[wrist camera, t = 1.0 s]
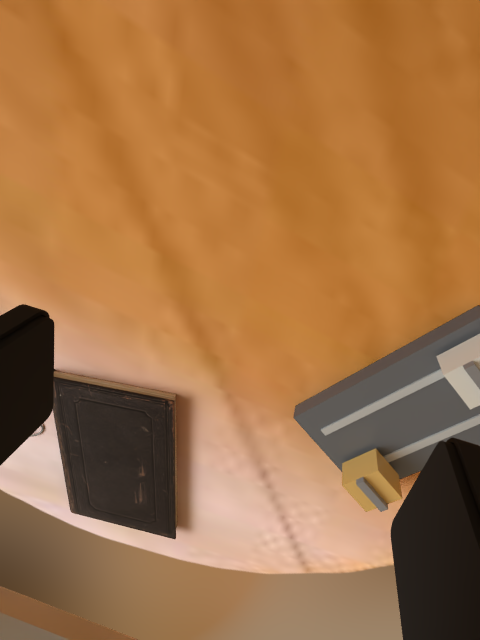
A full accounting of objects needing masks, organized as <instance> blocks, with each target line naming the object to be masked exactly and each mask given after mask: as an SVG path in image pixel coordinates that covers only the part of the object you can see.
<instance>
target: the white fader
mask: <svg viewBox="0 0 480 640" xmlns="http://www.w3.org/2000/svg"><path fill="white" fill-rule="evenodd" d="M436 357H437V360H438V362H439V365H440V367H441V370H442V373H443V375H444V376H445V378H446V379H447V380H448V382H449V383H450V384H451V385H452V387H453V388H454V389H455V391H456V392H457V393H458V394H459V396H460V397H461V398H462V400H463V401H464V402H465V403H466V405H467V406H468V407H469V409H470V410H471V409H473V408H475V407H477V406H480V334H478V335H476V336H474V337H472V338H470V339H468V340H467V341H465V342H463V343H461V344H459V345H457V346H455V347H453V348H451V349H449V350H447V351H445V352H443V353H442V354H440V355H438V356H436Z"/></svg>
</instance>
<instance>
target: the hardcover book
mask: <svg viewBox="0 0 480 640" xmlns="http://www.w3.org/2000/svg"><path fill="white" fill-rule="evenodd" d="M53 412H54V418H55V424H56V430H57V435H58V441H59V447H60V453H61V459H62V464H63V470H64V476H65V482H66V487H67V493H68V499H69V505H70V510H71V512H72V513H75V514H79V515H83V516H87V517H91V518H95V519H99V520H102V521H106V522H110V523H114V524H118V525H122V526H126V527H130V528H133V529H137V530H141V531H145V532H149V533H153V534H157V535H161V536H164V537H168V538H172V539H175V538H176V527H177V472H176V394H172V393H167V392H162V391H157V390H152V389H146V388H141V387H136V386H131V385H126V384H121V383H116V382H110V381H105V380H100V379H95V378H90V377H85V376H80V375H74V374H69V373H64V372H59V371H55V369H54V404H53Z"/></svg>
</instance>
